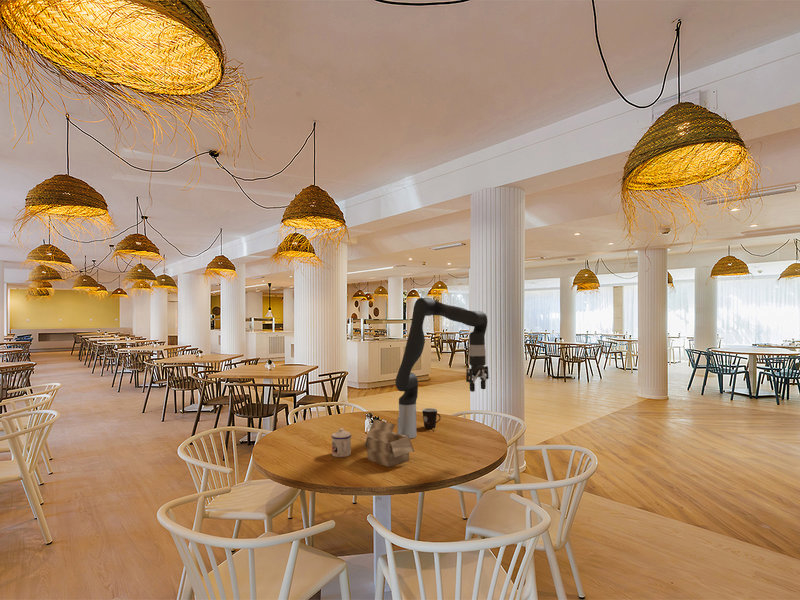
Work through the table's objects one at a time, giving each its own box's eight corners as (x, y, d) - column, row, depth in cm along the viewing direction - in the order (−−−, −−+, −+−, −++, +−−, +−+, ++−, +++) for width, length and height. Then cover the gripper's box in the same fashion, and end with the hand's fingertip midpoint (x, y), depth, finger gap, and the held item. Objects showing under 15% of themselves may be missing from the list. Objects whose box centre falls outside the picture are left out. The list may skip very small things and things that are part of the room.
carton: (363, 458, 187) (362, 434, 188) (388, 450, 198) (388, 428, 199) (394, 469, 173) (393, 444, 173) (419, 460, 184) (419, 436, 184)
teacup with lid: (329, 452, 195) (329, 427, 195) (348, 450, 199) (348, 425, 199) (336, 460, 184) (336, 433, 185) (355, 457, 188) (355, 431, 188)
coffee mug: (420, 426, 242) (420, 408, 242) (434, 425, 245) (433, 407, 245) (427, 431, 231) (427, 413, 231) (441, 430, 233) (441, 411, 234)
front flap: (366, 436, 185) (374, 419, 188) (367, 436, 185) (375, 419, 188) (387, 442, 175) (394, 424, 179) (387, 442, 176) (395, 424, 179)
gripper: (479, 353, 200) (479, 387, 199) (461, 355, 190) (461, 391, 189) (492, 354, 194) (493, 389, 193) (474, 356, 184) (475, 393, 183)
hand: (477, 390), depth 191 cm, fingers open, 8 cm apart
